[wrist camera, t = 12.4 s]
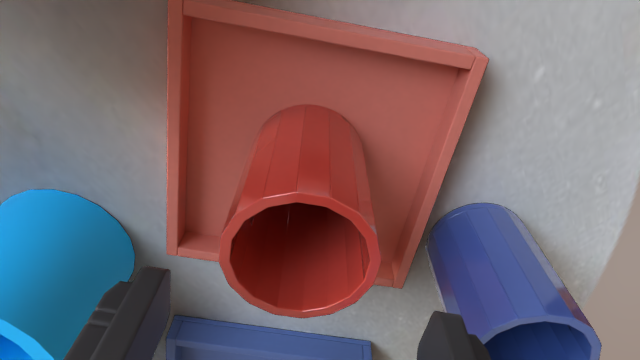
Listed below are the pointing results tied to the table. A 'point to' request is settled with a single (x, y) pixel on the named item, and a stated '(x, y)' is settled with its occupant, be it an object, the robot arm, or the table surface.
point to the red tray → (316, 89)
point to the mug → (55, 270)
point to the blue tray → (255, 343)
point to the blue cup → (506, 287)
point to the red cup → (302, 217)
